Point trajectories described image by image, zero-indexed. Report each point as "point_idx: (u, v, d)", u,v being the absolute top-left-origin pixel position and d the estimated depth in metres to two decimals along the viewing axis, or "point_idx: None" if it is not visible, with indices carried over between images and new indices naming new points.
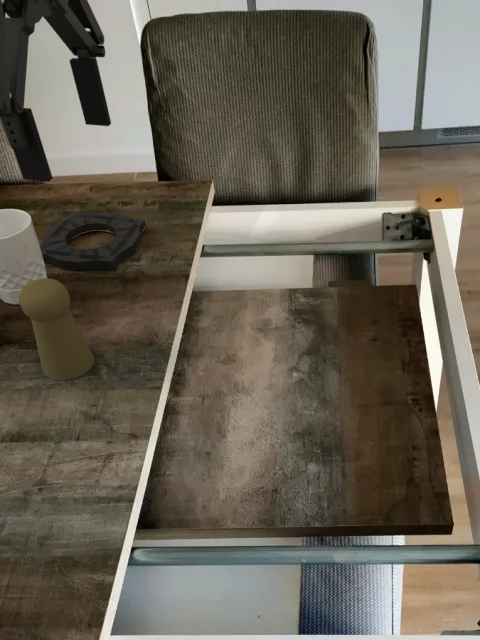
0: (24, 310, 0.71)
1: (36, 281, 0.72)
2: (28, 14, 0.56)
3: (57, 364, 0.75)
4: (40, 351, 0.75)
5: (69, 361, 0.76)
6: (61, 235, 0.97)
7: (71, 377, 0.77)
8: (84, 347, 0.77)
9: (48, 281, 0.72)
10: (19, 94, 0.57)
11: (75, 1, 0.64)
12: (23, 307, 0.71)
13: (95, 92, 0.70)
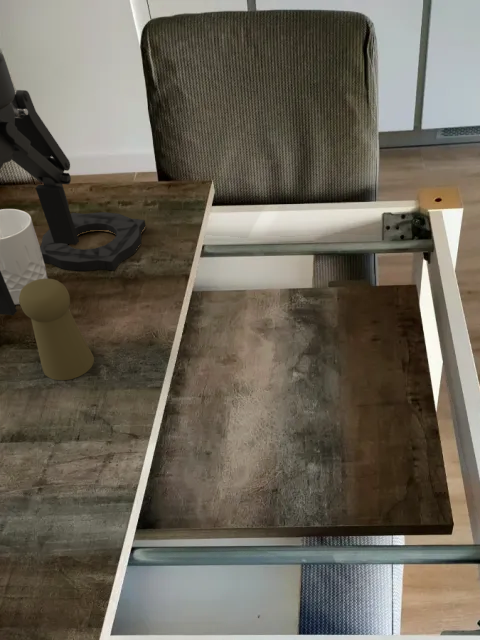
0: (24, 310, 0.71)
1: (36, 281, 0.72)
2: None
3: (57, 364, 0.75)
4: (40, 351, 0.75)
5: (69, 361, 0.76)
6: None
7: (71, 377, 0.77)
8: (84, 347, 0.77)
9: (48, 281, 0.72)
10: None
11: (39, 137, 0.66)
12: (23, 307, 0.71)
13: (62, 215, 0.72)
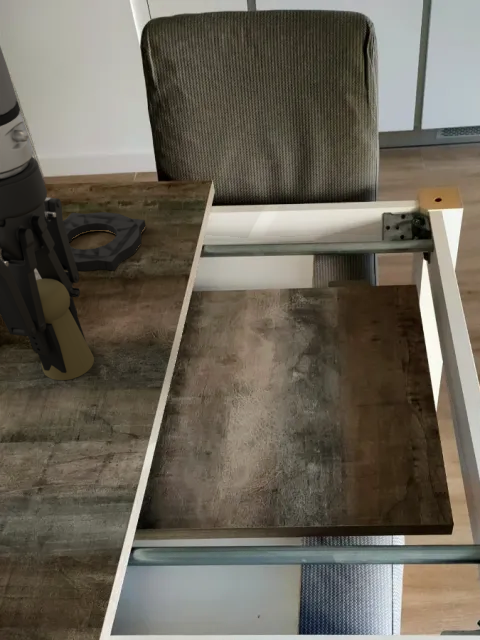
0: None
1: None
2: (30, 260, 0.66)
3: None
4: None
5: (69, 361, 0.76)
6: None
7: (71, 377, 0.77)
8: (84, 347, 0.77)
9: (48, 281, 0.72)
10: (40, 318, 0.70)
11: (58, 243, 0.72)
12: None
13: None
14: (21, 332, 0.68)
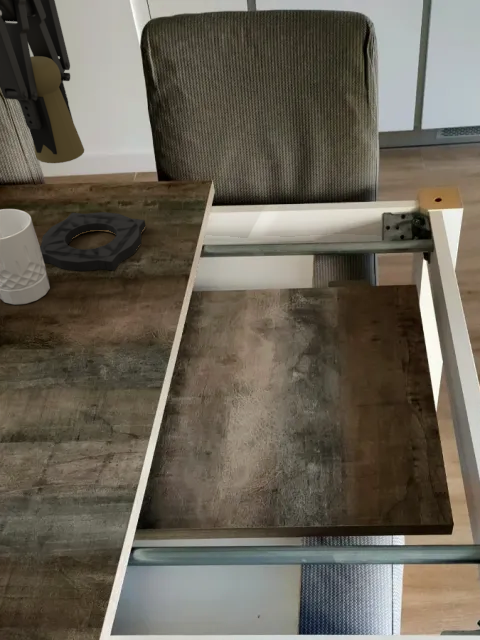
0: None
1: None
2: (22, 19, 0.71)
3: None
4: None
5: (59, 142, 0.81)
6: (61, 235, 0.97)
7: (62, 160, 0.82)
8: (74, 132, 0.82)
9: (40, 56, 0.77)
10: (32, 85, 0.75)
11: (50, 22, 0.77)
12: None
13: None
14: (14, 94, 0.74)
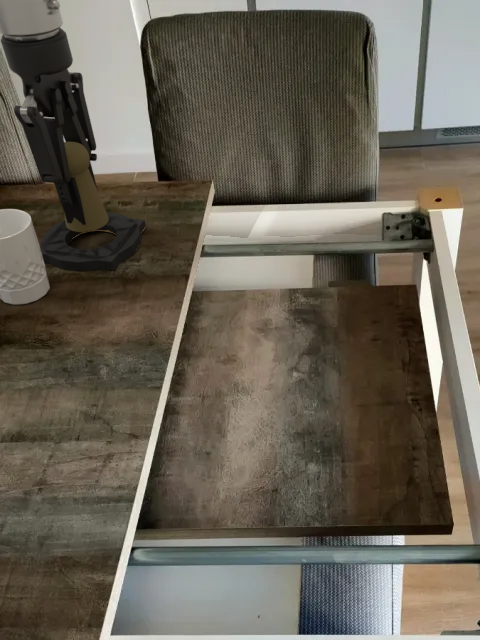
0: None
1: None
2: (58, 116, 0.82)
3: None
4: None
5: (88, 214, 0.92)
6: (61, 235, 0.97)
7: (90, 229, 0.93)
8: (100, 204, 0.93)
9: (72, 142, 0.88)
10: (66, 169, 0.86)
11: (80, 112, 0.88)
12: None
13: None
14: (51, 178, 0.85)
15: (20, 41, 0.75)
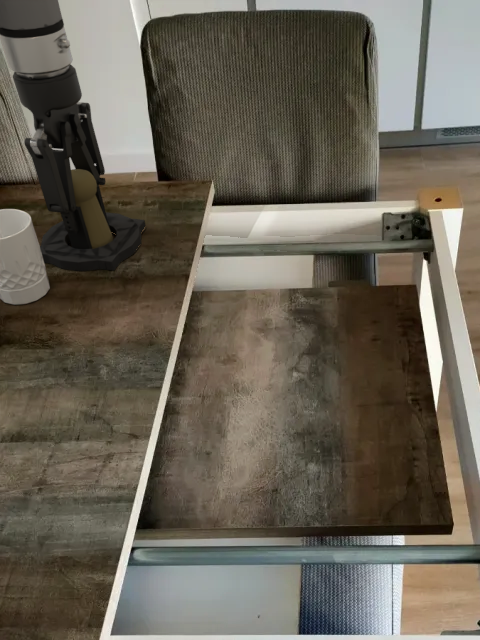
0: None
1: None
2: (67, 148, 0.85)
3: None
4: None
5: (95, 238, 0.95)
6: (61, 235, 0.97)
7: None
8: (107, 229, 0.96)
9: (80, 170, 0.91)
10: (72, 199, 0.89)
11: (88, 140, 0.91)
12: None
13: None
14: (57, 208, 0.87)
15: (32, 78, 0.78)
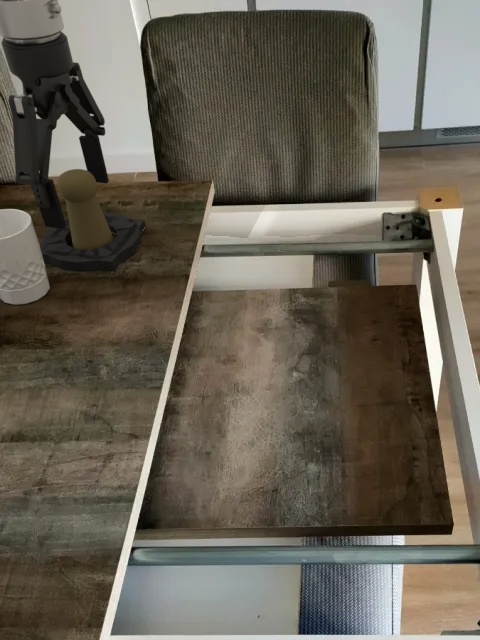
0: (61, 192, 0.90)
1: (70, 170, 0.91)
2: (52, 116, 0.81)
3: (86, 241, 0.94)
4: (72, 230, 0.94)
5: (95, 238, 0.95)
6: (61, 235, 0.97)
7: None
8: (107, 229, 0.96)
9: (80, 170, 0.91)
10: (45, 170, 0.82)
11: (84, 98, 0.89)
12: (61, 189, 0.90)
13: (97, 160, 0.95)
14: (27, 180, 0.80)
15: (21, 44, 0.76)
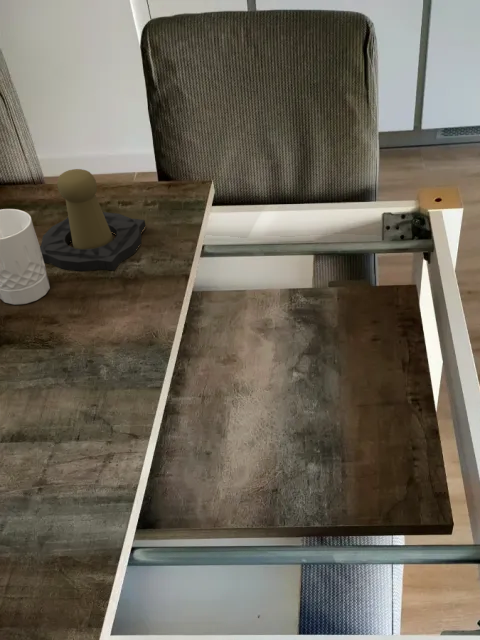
0: (61, 192, 0.90)
1: (70, 170, 0.91)
2: None
3: (86, 241, 0.94)
4: (72, 230, 0.94)
5: (95, 239, 0.95)
6: (61, 235, 0.97)
7: None
8: (107, 229, 0.96)
9: (80, 170, 0.91)
10: None
11: None
12: (61, 189, 0.90)
13: None
14: None
15: None
